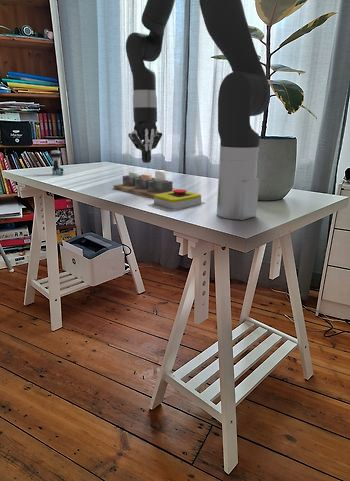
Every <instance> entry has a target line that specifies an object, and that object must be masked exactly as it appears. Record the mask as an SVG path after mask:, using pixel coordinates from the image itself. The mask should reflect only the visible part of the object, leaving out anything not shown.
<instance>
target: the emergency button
mask: <svg viewBox="0 0 350 481" xmlns="http://www.w3.org/2000/svg"><path fill="white" fill-rule="evenodd" d="M175 189H176V190H173V192H168V193H162V194H156V195H154V199H153V203H148V204H147V206H149V207H151V206H152V207H151V208H155V209H159V210H162V211H165V212H171V211H176V210H180V209H181V210H182V209H186V208H189V207H195V206H199V205H204V204H205V201H202V194H200V193H196V192H191V191H188V190H186V189H179V188H175Z"/></svg>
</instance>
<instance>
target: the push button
mask: <svg viewBox="0 0 350 481" xmlns="http://www.w3.org/2000/svg"><path fill="white" fill-rule="evenodd" d="M48 154H49V157H50V158H51V159H52V165H53V166H52V168H51V171H52V175H53V176H55V175H56V176H63V175H64V168H62V166H61V158H62V156H63V152H61V151H60V150H51V151H50V152H49V153H48Z"/></svg>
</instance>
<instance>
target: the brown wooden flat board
mask: <svg viewBox="0 0 350 481" xmlns="http://www.w3.org/2000/svg"><path fill="white" fill-rule="evenodd" d="M141 175H142V174H139V177H129V174H127V175H122V183H120V184H119V183H118V184H113V189H114V190H119V191H122V192H126V193H131V194H134V195H138V196H142V197H146V198H150V199H153V200H154V195H156V194H162V193H168V192H173V190H176V189H177V188H175V187H173V184H174V183H173V181H172V180H167V179H166V182H162V183H158V182H155V177H152V179H149V180H143V179H141Z"/></svg>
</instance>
